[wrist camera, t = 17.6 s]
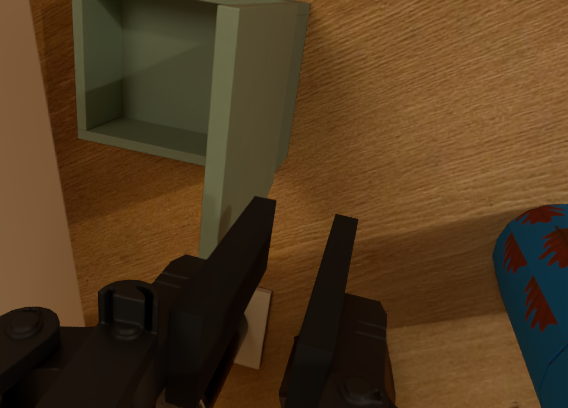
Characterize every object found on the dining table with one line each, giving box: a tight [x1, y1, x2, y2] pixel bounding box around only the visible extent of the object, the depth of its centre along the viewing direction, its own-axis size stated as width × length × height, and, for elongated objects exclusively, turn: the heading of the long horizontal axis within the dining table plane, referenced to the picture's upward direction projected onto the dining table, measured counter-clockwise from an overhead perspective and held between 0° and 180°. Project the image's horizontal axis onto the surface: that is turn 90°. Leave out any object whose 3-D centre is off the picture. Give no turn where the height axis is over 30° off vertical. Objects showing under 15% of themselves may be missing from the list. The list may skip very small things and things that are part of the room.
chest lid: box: [198, 2, 298, 260], centre depth 27 cm, size 19×14×1 cm
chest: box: [72, 0, 310, 173], centre depth 40 cm, size 18×14×7 cm
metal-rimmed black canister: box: [156, 314, 248, 408], centre depth 48 cm, size 7×7×13 cm
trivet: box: [234, 287, 272, 369], centre depth 54 cm, size 11×11×1 cm
